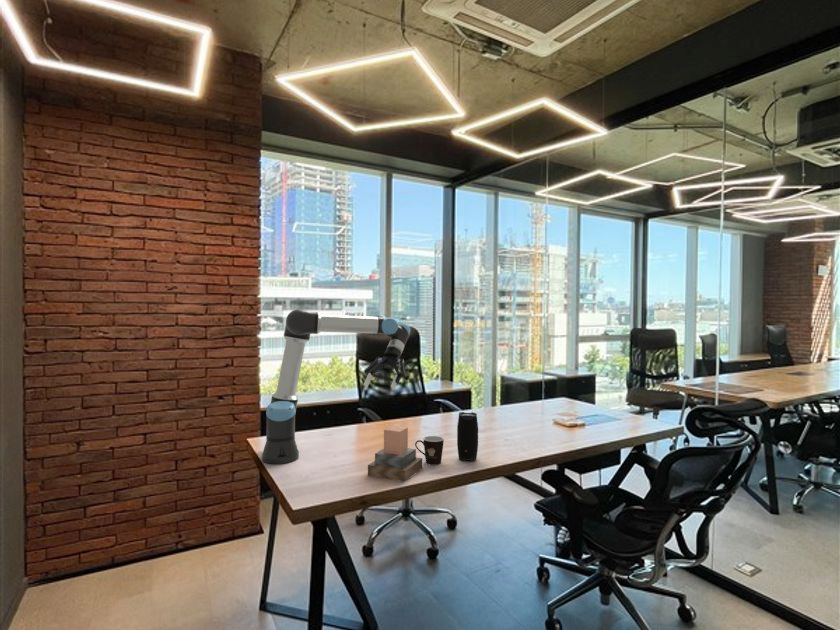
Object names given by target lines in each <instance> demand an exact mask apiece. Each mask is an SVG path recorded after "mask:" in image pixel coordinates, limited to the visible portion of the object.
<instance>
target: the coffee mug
mask: <svg viewBox="0 0 840 630" xmlns="http://www.w3.org/2000/svg"><path fill="white" fill-rule="evenodd" d="M418 443H422V445H423V448H424V452H423V451H422V450H421V449H420V448H419V447H418V446H417V444H418ZM444 443H445V438H444V437H442V436H438V435H428V436H424V437H423V439H422V440H416V441H415V443H414V444H415V446H414V447H415V449H416V450H418V451H419V452H420V453H421V454H422V455H424V458H425V464H427V465H429V464H430V465H429V466H437V465H441V464H442V459H443V451H444V450H443V449H444Z"/></svg>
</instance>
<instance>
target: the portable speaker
mask: <svg viewBox="0 0 840 630" xmlns="http://www.w3.org/2000/svg"><path fill="white" fill-rule="evenodd" d="M457 419H458V420H457V426H456V428H457V429H456V430H457V431H456V434H457V436H456V439H457V442H456V444H457V455H458V460H459V461H463V460H468V461H469V462H475V461H477V457H478V451H479V450H478V449H479V447H478V446H479V423H478V414H477V413H476V412H464V411H462V412H459V413H458V417H457Z"/></svg>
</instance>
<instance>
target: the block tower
mask: <svg viewBox="0 0 840 630" xmlns="http://www.w3.org/2000/svg"><path fill="white" fill-rule="evenodd" d="M420 469H421V470H422V469H423V458H421V457H417V448H410V447H408V450H407V451H405V452H404V453H402V454H401V455H396V454H389V453H384V448H383V449H381V450H379V451H378V452H375V453H374V460H373V461H371V462H370V463H368V464H367V476H369V475H370V477H375V478H376V477H377V478H381V479H387V480H393V479H394V481H399V480H400V482H405V481H406V482H407V481H408V480H409V479H411V478H412V477H413V476H414V475H416V474H417V473H419V470H420ZM421 470H420V471H421ZM415 473H416V474H415ZM410 477H411V478H410Z"/></svg>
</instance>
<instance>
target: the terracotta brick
mask: <svg viewBox="0 0 840 630" xmlns="http://www.w3.org/2000/svg"><path fill="white" fill-rule="evenodd" d="M408 430H409V429H408V427H405V426H399V425H398V426H397V425H390V426H389V427H386V428H384V429H383V449H384V453H389V454H396V455H401V454H402V453H404V452H405V451H407V450H408V448H409V446H408V445H409V444H408V443H409V441H408V440H409V439H408V438H409V437H408V436H409V435H408V433H409V431H408Z"/></svg>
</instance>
